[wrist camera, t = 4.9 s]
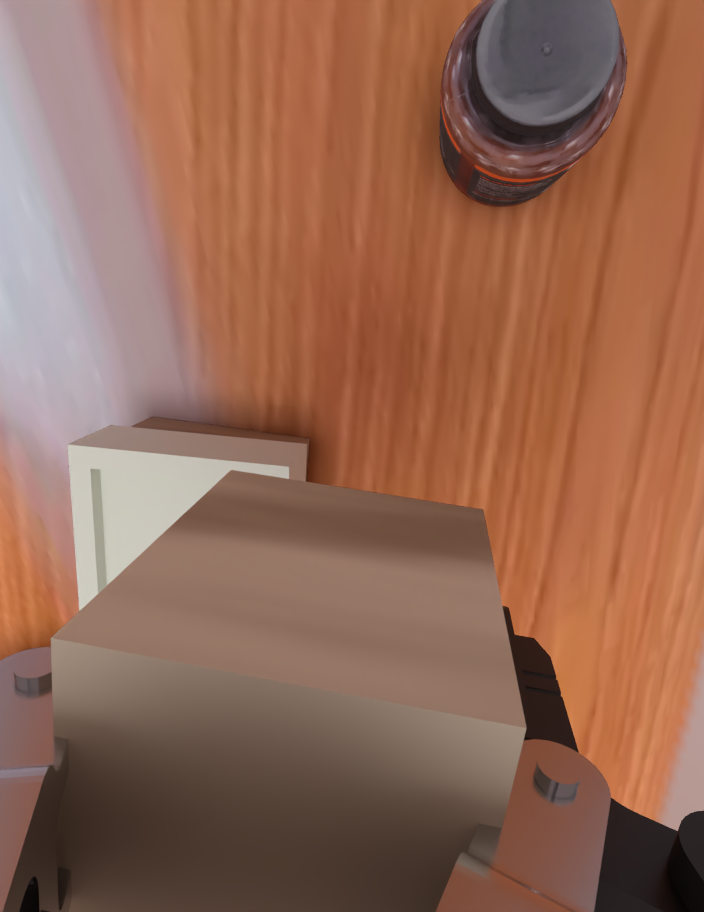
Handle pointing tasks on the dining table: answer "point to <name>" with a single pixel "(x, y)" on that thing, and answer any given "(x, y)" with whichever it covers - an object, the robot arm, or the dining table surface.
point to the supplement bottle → (528, 94)
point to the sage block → (152, 488)
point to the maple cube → (287, 707)
